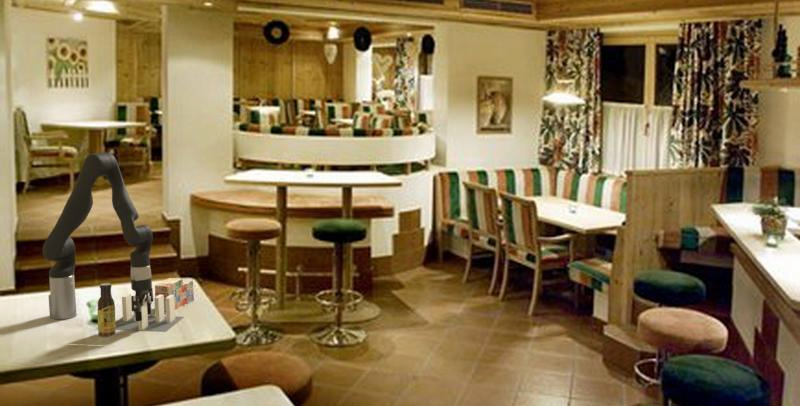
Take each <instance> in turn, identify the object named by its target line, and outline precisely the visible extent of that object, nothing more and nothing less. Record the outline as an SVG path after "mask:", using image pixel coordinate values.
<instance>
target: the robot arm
mask: <svg viewBox="0 0 800 406" xmlns="http://www.w3.org/2000/svg"><path fill="white" fill-rule="evenodd" d="M100 177H102V178H103V177H105V178H106V179H107V180H108V182H109V185H110V186H111V203H112V208H113V209H114V211H115V213H116V215H117V217H118V219H119V221H120V225H121V226H120V227H121V230H122V235H123V238H124V241H125V242H126V243H127V244H128V245H129V246H133V247H134V246H136V248H135V249H134V250H132V251H131V252H130V255H129V256H130V285H131V290H132V291H134V292H135V293H134V294H135V295H131V303H132V312H133V311H134V312H135V317H136V321H141V320H142V312H141V310H142V306H144V303H145V302H146V301H147V313H148V315H151V314H152V304H153V302H154V293H153V291H154V290H153V289H154V288H153V282H152V281H153V280H152V270H151V260H150V253H151V248H152V245H153V239H154V238H153V237H154V236H153V235H154V234H153V231H152V229H151V227H150V226H149V225H148V224H140V225H137V226H135V221H137V220H138V219H139V217H140V216H139V213H138V211H137V209H136V207H135V204H134V202H133V201H132V199H131V198H130V195H129V193H128V190H127V187H126V185H125V182H124V178H123V175H122V172H121V169H120V166H119V164H118V161H117V159H116V157H115V155H113V154H112V153H110V152H93V153H90V154H88V155H87V156H86V157H85V159H84V160H83V163H82V166H81V169H80V171H79V174H78V176H77V180H76V182H75V184H74V186H73V189H72V191H71V193H70V195H69V197H68V198H67V200H66V203H65V205H64V207H63V209H62V212H61V214H60V215H59V218H58V219H57V221H56V222H55V223H56V224H55V226H54V227H53V229H52V230H51V231H50V233H49V235H48V236H47V238H46V239H45V241H44V243H43V244H42V245H43V246H42V255H43V257H44V258H45V259H46V260H47V261H50V262H55V261H56V262H55V264H54V265H53V266H52V267H51V268H50V269H49V271H48V274H49V276H48V277H49V279H48V280H49V290H50V294H48V307H49V308H48V309H49V318H50V319H53V320H68V319H72V318H74V317H76V316H77V300H76V299H77V298H76V286H75V285H76V284H75V269H76V263H77V262H76V244H75V242H74V240H73V238H72V237H71V235H72V233H74V232H75V231H76V230H77V229H78V228H79V227H81V225H82V224H83V223H84V222H85V221H86V219H87V218H88V216H89V214H90V212H91V210H92V208H93V205H94V200H93V199H94V197H93V193H92V190H93V187H94V185H95V183H96V181H97V179H98V178H100ZM134 305H135V307H134ZM139 306H140V307H139Z"/></svg>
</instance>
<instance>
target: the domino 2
mask: <svg viewBox="0 0 800 406" xmlns="http://www.w3.org/2000/svg"><path fill="white" fill-rule="evenodd" d="M139 307H140V306H139ZM141 312H142V320H141V321H138V325H139V330H143V329H145V328H146V327H147V326H148V316H149V314H148V313H147V301H146V302H145V303H144V306H142V310H141Z"/></svg>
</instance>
